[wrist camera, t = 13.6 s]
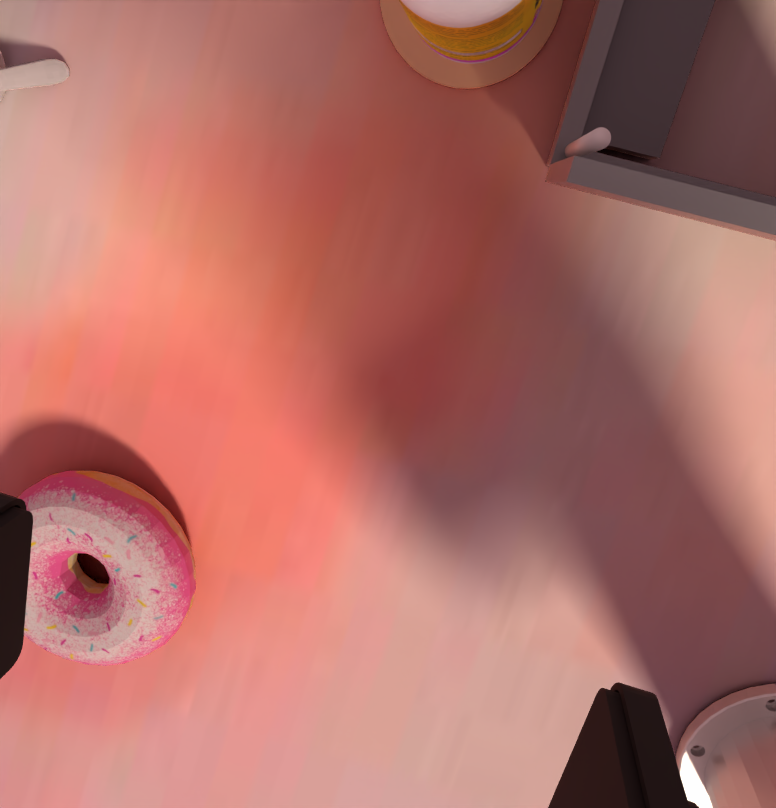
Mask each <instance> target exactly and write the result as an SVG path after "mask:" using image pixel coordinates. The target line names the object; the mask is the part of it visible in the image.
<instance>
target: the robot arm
mask: <svg viewBox="0 0 776 808" xmlns="http://www.w3.org/2000/svg"><path fill="white" fill-rule="evenodd" d="M32 529H33V515H32V513H31V512H30V511H27V510H26V504H25V502H24V501H23V500H22V499H19V498H16V497H13V496H10V495H6V494H3V493H0V679H1V678H2V677H3V676H4V675H5V674H6V673H7V672H8V671H9V670H10V669H11V668H12V666H13V665H14V664H15V662H16V661H17V659H18V657H19V655H20V653H21V650H22V646H23V637H24V625H25V613H26V601H27V589H28V577H29V565H30V553H31V541H32ZM548 808H776V684H767V685H761V686H755V687H750V688H747V689H744V690H740V691H737V692H734V693H731V694H729V695H727V696H725V697H723V698H721V699H720V700H718V701H716V702H714V703H712V704H711V705H710V706H709V707H707V708H706V709H705V710H703V711H702V712H701V713H699V714H698V716H697V717H696V718H695V719H694V720H693V721H692V722H691V723H690V725H689V726H688V727H687V729H686V731H685V733H684V734H683V736H682V738H681V740H680V743H679V746H678V750H677V753H676V759H675V756H674V752H673V749H672V746H671V742H670V739H669V736H668V732H667V729H666V725H665V722H664V719H663V715H662V712H661V709H660V705H659V702H658V699H657V697H656V695H655V694H653V693H651V692H648V691H644V690H641V689H638V688H635V687H631V686H628V685H625V684H622V683H615V684H614V685H613V686H612V688H611V690H608V689H604V688H601V689H600V690H599V691H598V693H597V695H596V697H595V699H594V702H593V704H592V706H591V709H590V711H589V713H588V716H587V718H586V720H585V723H584V725H583V727H582V730H581V732H580V734H579V737H578V739H577V741H576V744H575V746H574V748H573V751H572V753H571V755H570V758H569V760H568V763H567V765H566V767H565V770H564V772H563V774H562V777H561V779H560V781H559V784H558V786H557V788H556V791H555V793H554V795H553V798H552V800H551V802H550V805H549V807H548Z"/></svg>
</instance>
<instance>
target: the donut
mask: <svg viewBox="0 0 776 808" xmlns="http://www.w3.org/2000/svg"><path fill="white" fill-rule="evenodd" d="M17 498H19V499H22V500H23V501H24V502H25V504H26V510H27V511H30V512H31V513H32V515H33V529H32V541H31V553H30V565H29V577H28V589H27V601H26V613H25V625H24V635H25V636H26V637H27V638H28V639H29V640H31V641H32V642H34V643H35V644H37V645H38V646H40V647H42V648H43V649H45V650H46V651H48V652H51V653H53V654H55V655H58V656H60V657H62V658H65V659H68V660H72V661H76V662H80V663H83V664H91V665H103V666H107V665H115V664H123V663H126V662H129V661H132V660H135V659H137V658H140V657H143V656H145V655H148V654H150V653H152V652H154V651H155V650H157V649H158V648H160V647H161V646H163V645H164V644H166V643H167V642H168V641H169V639H170V638H171V637H172V636H173V635H174V634H175V633H176V632H177V630H178V629H179V628H180V626H181V624H182V623H183V621H184V620H185V618H186V616H187V614H188V612H189V610H190V608H191V606H192V602H193V598H194V593H195V589H196V579H195V561H194V557H193V554H192V550H191V546H190V543H189V541H188V539H187V537H186V535H185V533H184V531H183V529H182V527H181V526H180V525H179V523H178V522H177V521H176V519H175V518H174V517H173V516H172V514H171V513H170V512H169V510H167V509H166V508H165V507H164V506H163V505H162V504H161V503H160V502H159V501H158V500H157V499H156V498H155V497H154V496H152V495H151V494H149V493H148V492H146V491H145V490H143V489H142V488H140V487H139V486H137V485H136V484H134V483H131V482H129V481H127V480H125V479H122V478H120V477H118V476H115V475H111V474H107V473H103V472H99V471H64V472H60V473H56V474H52V475H49V476H47V477H46V478H44V479H42V480H41V481H39V482H37V483H36V484H34V485H32V486H31V487H29V488H28V489H26V490H24V491H23V492H22V493H21V494H20V495H19V496H18V497H17ZM78 553H87V554H89V555H91V556H93V557H94V558H96V559H98V560H99V561H100V562H101V563H102V564H103V565H104V566H105V568H106V571H107V573H108V575H109V577H110V580H109V584H104V583H97V582H95V581H94V580H92V579H91V578H89V577H88V576H87V575H86V574H85V573H84V572H83V571H82V569H81V567H80V565H79V563H78V561H77V555H78Z"/></svg>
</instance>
